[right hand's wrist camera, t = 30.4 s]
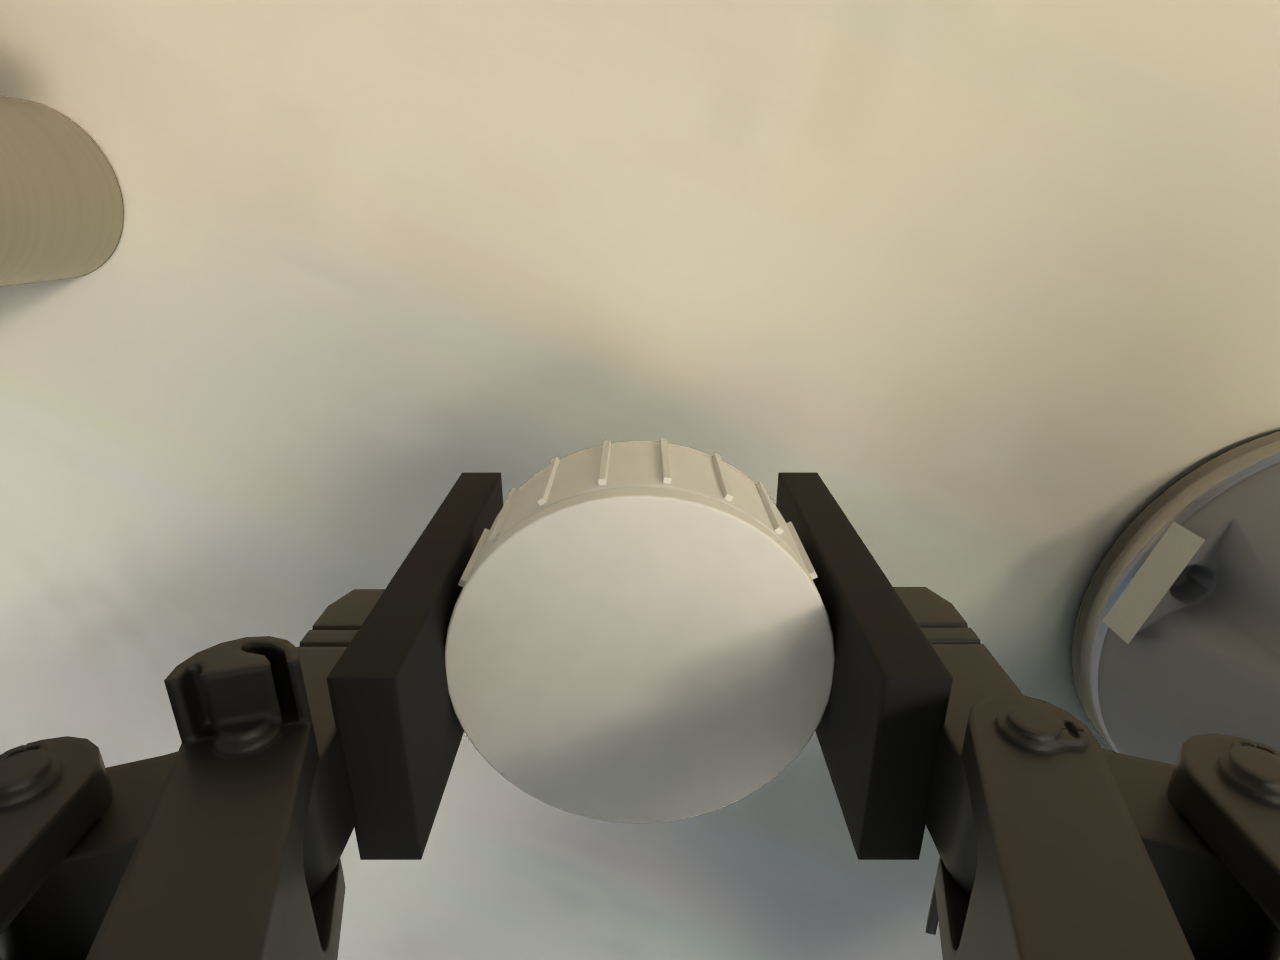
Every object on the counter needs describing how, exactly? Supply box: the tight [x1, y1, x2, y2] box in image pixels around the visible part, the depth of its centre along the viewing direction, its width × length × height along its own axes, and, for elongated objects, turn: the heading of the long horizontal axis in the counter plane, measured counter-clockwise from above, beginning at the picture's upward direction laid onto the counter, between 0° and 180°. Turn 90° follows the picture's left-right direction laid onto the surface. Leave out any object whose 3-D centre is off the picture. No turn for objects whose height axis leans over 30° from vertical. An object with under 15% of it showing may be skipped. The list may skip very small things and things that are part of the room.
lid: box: [445, 438, 835, 823], centre depth 11 cm, size 6×6×2 cm
